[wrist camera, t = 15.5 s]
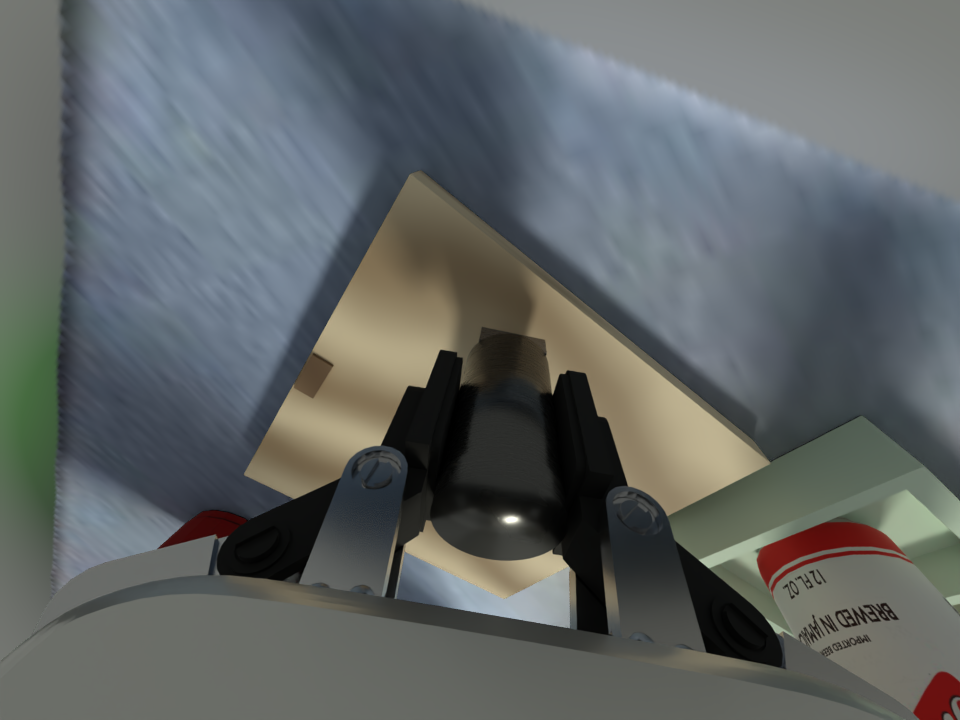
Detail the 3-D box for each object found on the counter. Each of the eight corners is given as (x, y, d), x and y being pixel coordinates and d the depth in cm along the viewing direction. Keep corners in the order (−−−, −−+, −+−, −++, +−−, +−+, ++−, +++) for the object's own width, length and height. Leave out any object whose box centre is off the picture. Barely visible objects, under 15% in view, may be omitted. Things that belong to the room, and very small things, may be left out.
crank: (510, 508, 20) (506, 692, 13) (425, 491, 20) (377, 667, 13) (580, 323, 13) (639, 504, 7) (453, 298, 13) (387, 454, 7)
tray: (762, 595, 25) (789, 646, 23) (649, 523, 22) (665, 573, 20) (974, 524, 19) (1043, 582, 17) (862, 415, 16) (924, 465, 14)
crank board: (504, 577, 27) (504, 601, 26) (259, 455, 22) (241, 476, 21) (753, 440, 18) (773, 466, 16) (420, 170, 13) (408, 174, 11)
